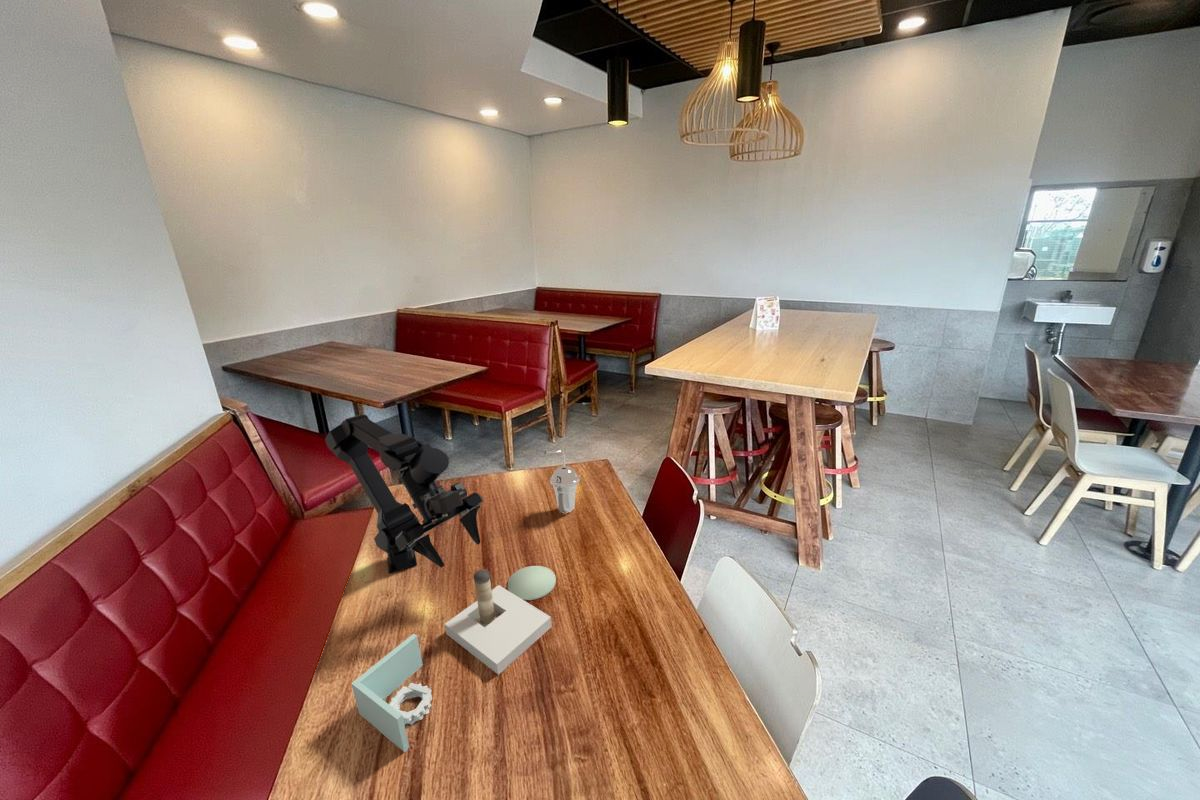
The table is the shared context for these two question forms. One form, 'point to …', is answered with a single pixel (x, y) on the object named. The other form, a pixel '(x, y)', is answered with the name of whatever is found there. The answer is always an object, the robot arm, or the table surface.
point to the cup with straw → (564, 485)
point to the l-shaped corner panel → (384, 682)
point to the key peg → (484, 598)
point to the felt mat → (532, 582)
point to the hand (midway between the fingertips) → (461, 554)
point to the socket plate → (499, 630)
